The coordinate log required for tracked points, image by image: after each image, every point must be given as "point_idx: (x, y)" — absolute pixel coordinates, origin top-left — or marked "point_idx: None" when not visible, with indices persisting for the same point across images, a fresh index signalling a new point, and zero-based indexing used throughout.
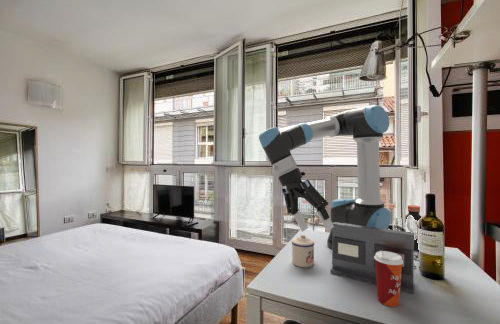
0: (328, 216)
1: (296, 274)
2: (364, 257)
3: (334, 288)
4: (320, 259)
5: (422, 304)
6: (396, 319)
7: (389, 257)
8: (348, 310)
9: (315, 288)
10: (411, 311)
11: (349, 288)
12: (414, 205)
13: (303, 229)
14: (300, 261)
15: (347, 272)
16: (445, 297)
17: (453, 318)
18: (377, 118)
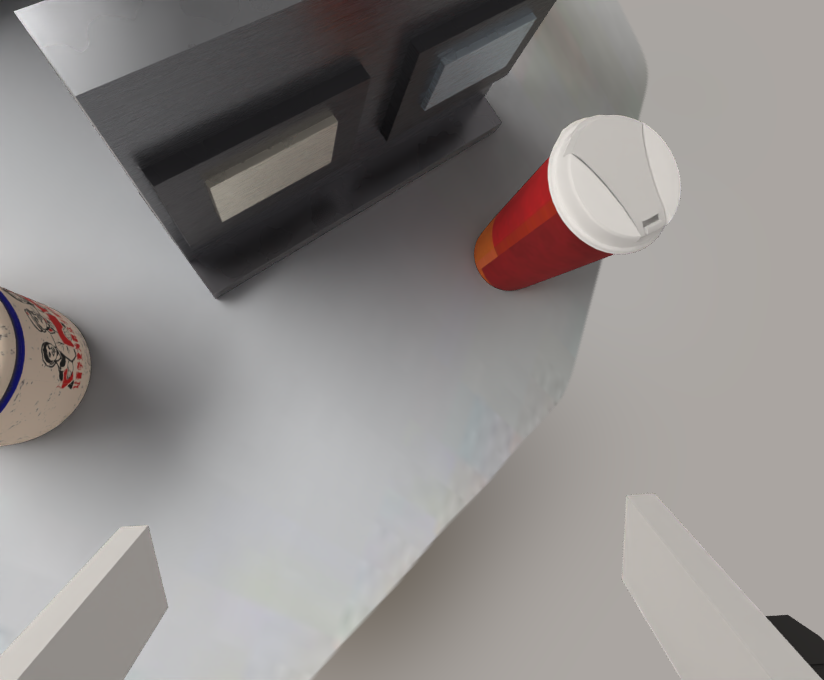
0: (814, 647)
1: (148, 494)
2: (355, 138)
3: (359, 384)
4: (14, 227)
5: None
6: (585, 321)
7: (652, 197)
8: (506, 437)
9: (327, 471)
10: None
11: (382, 321)
12: None
13: (153, 603)
14: (47, 422)
15: (279, 233)
16: (542, 59)
17: None
18: None
